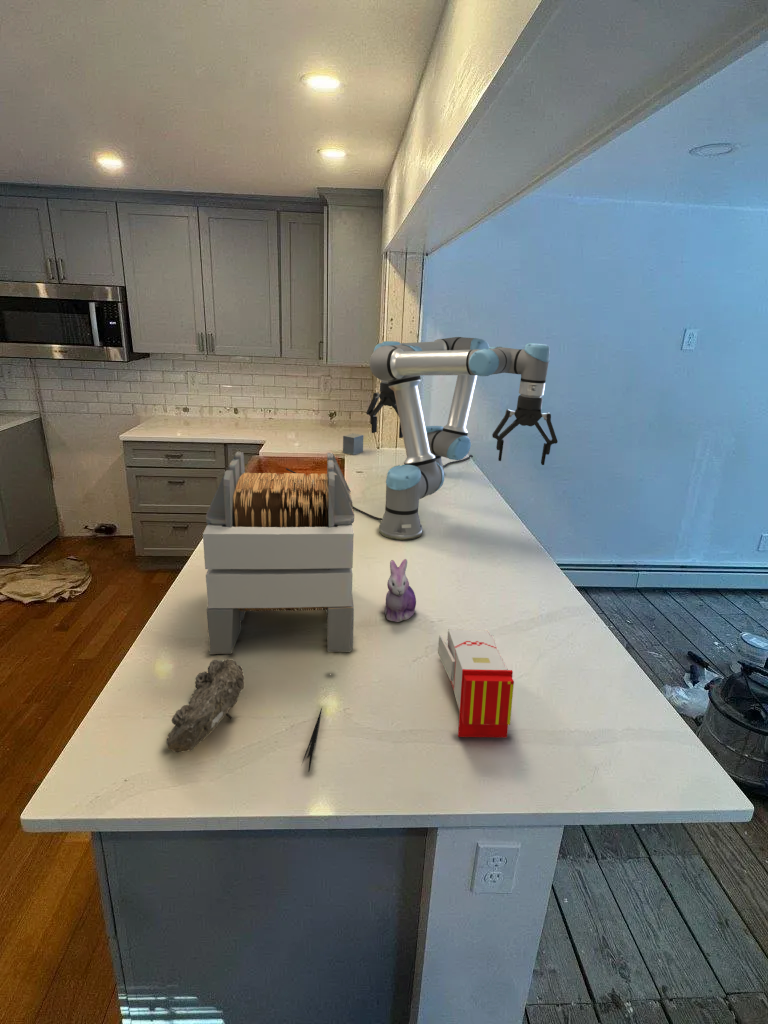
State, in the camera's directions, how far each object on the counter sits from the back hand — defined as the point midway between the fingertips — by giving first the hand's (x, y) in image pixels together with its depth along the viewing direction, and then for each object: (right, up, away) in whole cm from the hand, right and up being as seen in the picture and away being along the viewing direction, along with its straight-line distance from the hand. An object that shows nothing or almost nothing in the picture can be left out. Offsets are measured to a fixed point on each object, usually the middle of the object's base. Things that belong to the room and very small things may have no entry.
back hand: (387, 435), depth 232 cm
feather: (-14, -71, -123) cm, 143 cm away
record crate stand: (-26, -58, -88) cm, 109 cm away
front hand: (+43, -15, -49) cm, 67 cm away
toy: (+16, -69, -113) cm, 133 cm away
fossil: (-34, -71, -123) cm, 146 cm away
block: (-18, +1, +77) cm, 79 cm away
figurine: (+3, -58, -84) cm, 102 cm away
